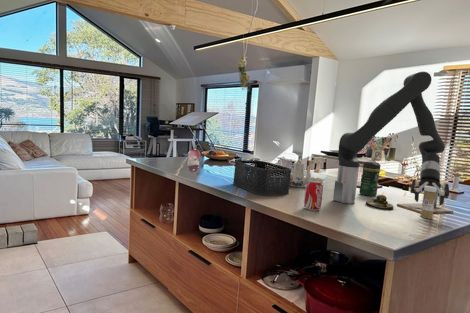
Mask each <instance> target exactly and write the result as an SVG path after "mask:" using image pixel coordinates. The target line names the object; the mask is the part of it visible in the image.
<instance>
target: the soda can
mask: <svg viewBox="0 0 470 313" xmlns="http://www.w3.org/2000/svg"><path fill="white" fill-rule="evenodd" d="M323 189H324V185H323V183H322V181H318V180H308V182H307V184H306V185H305V190H304V200H303V207H304V208H305V209H306V210H308V211H311V212H317V211H320V209H321V208H322V203H323V192H324V190H323Z"/></svg>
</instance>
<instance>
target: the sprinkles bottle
mask: <svg viewBox="0 0 470 313" xmlns="http://www.w3.org/2000/svg"><path fill="white" fill-rule="evenodd" d="M436 192H437V188H436V187H433V186H425V187H424V191H423V198H422V201H421V202H422V208H421V213H420V217H421V218H423V219H429V220H431V219H433V215H434V214H433V209H434V202H435V195H436Z"/></svg>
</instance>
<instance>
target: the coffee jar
mask: <svg viewBox="0 0 470 313" xmlns="http://www.w3.org/2000/svg"><path fill="white" fill-rule="evenodd" d="M380 171H381V164H380V163H379V162H377V161H365V162H364V163H363V165H362V174H361V179H360V180H361V181H360V186H359V192H358V193H359V195H363V196H369V197H373V196H378V195H377V194H378V186H379V176H380Z"/></svg>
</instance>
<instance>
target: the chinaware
mask: <svg viewBox="0 0 470 313" xmlns="http://www.w3.org/2000/svg"><path fill="white" fill-rule="evenodd" d="M289 165H292V167H293V168H294V170H293V172H291V176H290V185H289V186H291V187H296V188H304V187H305V188H306V184H307V182H308V180H318V181H322V185H323V186H324V181H325V179H323V178H321V177H316V178H315V176H314V177H313V176H312V175H311V169H310V168H311V166H312V164H308V165H307V167H306V176H305V170H304V169H305V166H306V163H304V162H303V160H302V159H301V158H299V159H298V160H297V161H295V162H294V163H293V162H292V163H291V162H290V163H288V164H286V166H285V167H287V168H288V166H289ZM284 175H285V174H284Z"/></svg>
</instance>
